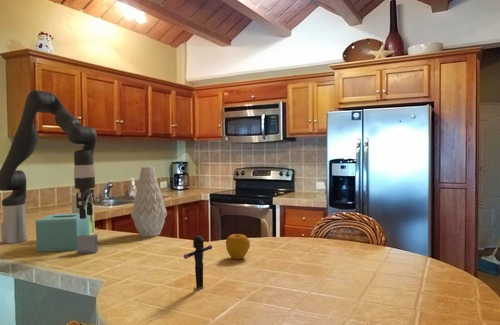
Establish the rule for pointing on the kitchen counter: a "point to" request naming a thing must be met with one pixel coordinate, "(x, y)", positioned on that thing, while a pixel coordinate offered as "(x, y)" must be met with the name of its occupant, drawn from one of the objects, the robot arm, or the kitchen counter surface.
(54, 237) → the coin box
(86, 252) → the brushed metal block
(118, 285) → the kitchen counter surface
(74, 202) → the toy refrigerator
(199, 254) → the figurine
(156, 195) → the vase
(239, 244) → the apple
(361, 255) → the kitchen counter surface
